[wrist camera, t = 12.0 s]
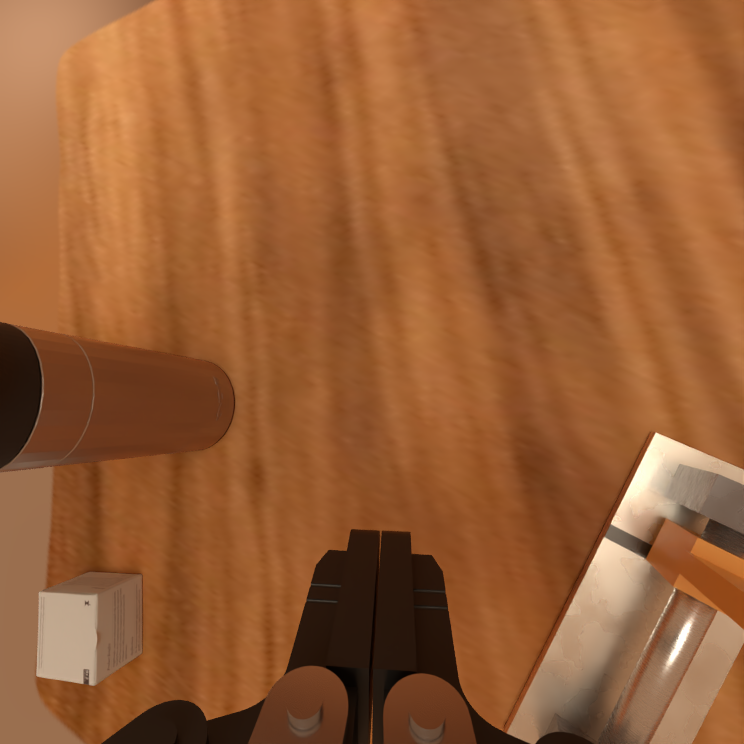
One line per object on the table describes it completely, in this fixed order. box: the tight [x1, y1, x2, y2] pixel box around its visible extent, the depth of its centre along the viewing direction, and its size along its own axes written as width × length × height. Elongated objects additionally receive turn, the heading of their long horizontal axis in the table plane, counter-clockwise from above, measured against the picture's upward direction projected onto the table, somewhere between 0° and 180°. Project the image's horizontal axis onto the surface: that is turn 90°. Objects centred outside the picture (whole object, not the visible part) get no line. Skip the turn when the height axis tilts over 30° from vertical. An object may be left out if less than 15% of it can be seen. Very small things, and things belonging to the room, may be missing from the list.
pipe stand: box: [504, 432, 744, 744], centre depth 24 cm, size 24×9×6 cm, turn 152°
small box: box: [36, 572, 142, 686], centre depth 38 cm, size 8×8×5 cm
